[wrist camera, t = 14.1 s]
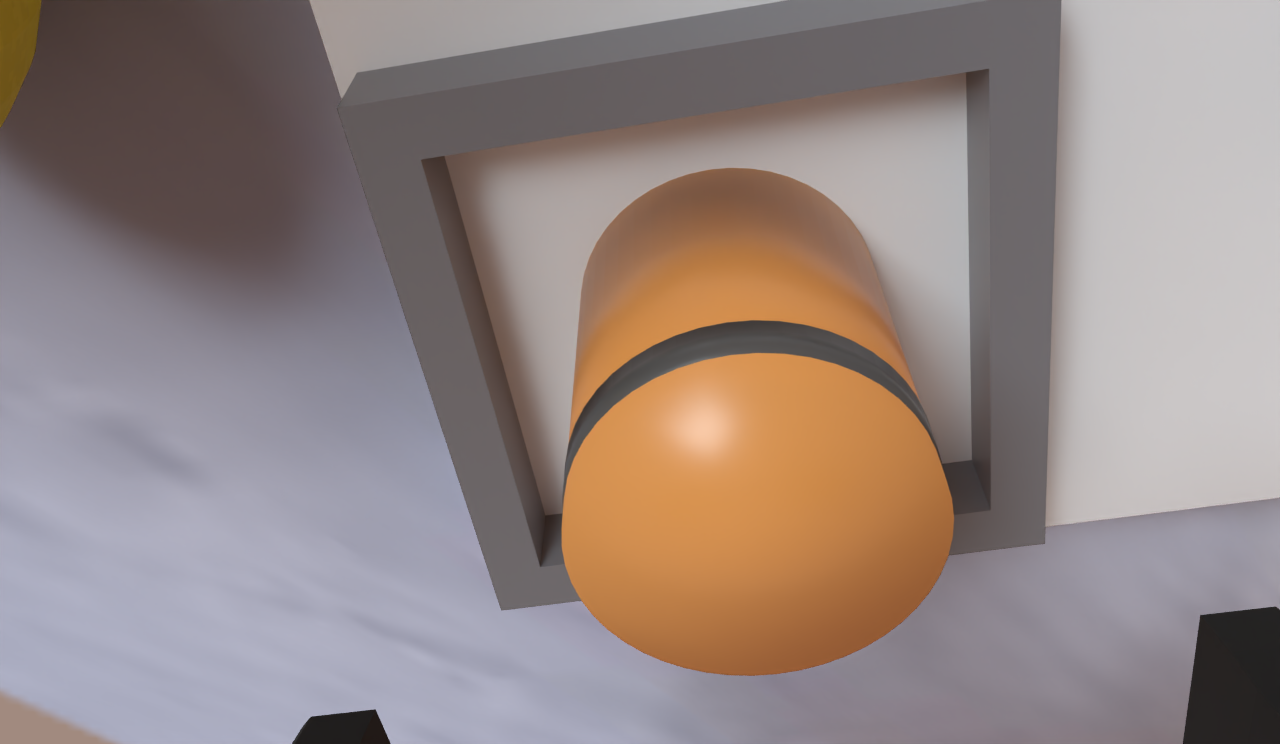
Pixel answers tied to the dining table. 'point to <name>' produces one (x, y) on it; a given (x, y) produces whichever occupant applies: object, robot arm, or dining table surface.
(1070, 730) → the dining table surface
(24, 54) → the lemon
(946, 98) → the board
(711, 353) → the cap
